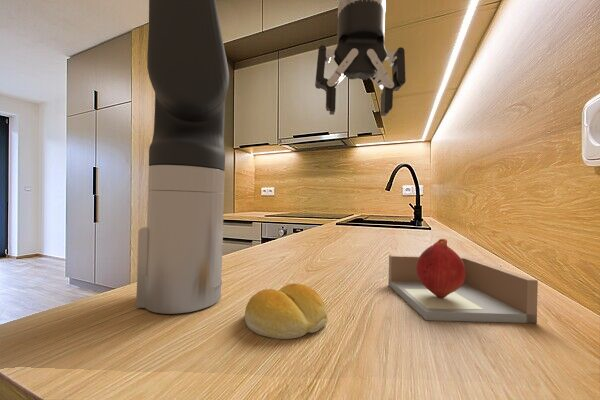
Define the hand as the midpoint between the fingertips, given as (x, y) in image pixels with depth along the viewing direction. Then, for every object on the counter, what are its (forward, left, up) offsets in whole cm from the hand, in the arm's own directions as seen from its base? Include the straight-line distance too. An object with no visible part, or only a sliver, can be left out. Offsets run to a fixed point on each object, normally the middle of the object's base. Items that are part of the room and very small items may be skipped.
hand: (358, 113), depth 43 cm
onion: (+10, -7, -27) cm, 30 cm away
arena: (+13, -5, -28) cm, 31 cm away
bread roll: (-10, -13, -28) cm, 33 cm away
